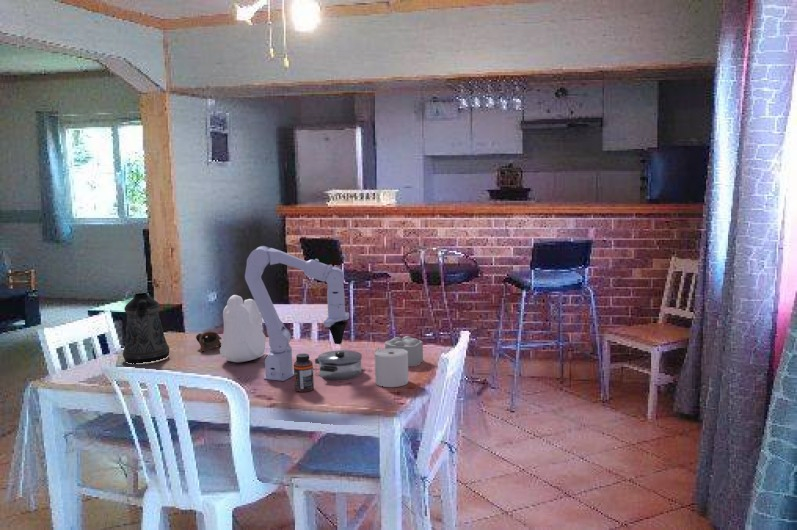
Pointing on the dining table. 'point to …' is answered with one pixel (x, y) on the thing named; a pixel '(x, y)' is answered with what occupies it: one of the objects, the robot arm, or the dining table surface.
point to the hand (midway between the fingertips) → (338, 343)
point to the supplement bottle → (303, 373)
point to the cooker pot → (339, 370)
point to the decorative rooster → (242, 331)
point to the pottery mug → (208, 340)
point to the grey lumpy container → (408, 348)
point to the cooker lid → (339, 357)
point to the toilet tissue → (391, 367)
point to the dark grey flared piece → (144, 331)
